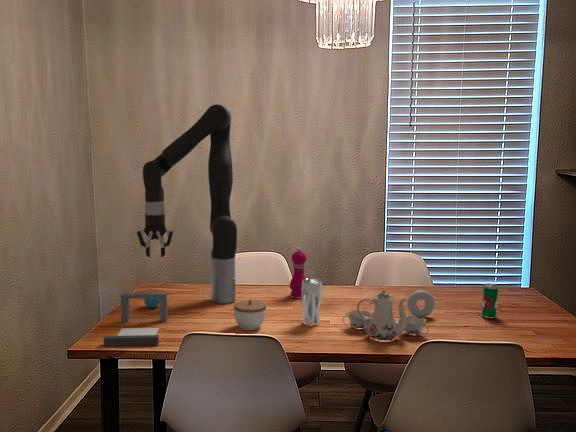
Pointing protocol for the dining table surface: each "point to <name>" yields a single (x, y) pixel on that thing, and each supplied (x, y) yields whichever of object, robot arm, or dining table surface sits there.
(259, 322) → the lidded jar
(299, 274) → the pepper mill
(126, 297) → the bridge
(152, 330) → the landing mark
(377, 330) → the chinaware
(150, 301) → the ball
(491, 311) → the soda can
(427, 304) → the donut
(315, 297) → the beer glass
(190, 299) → the dining table surface
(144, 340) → the wall
